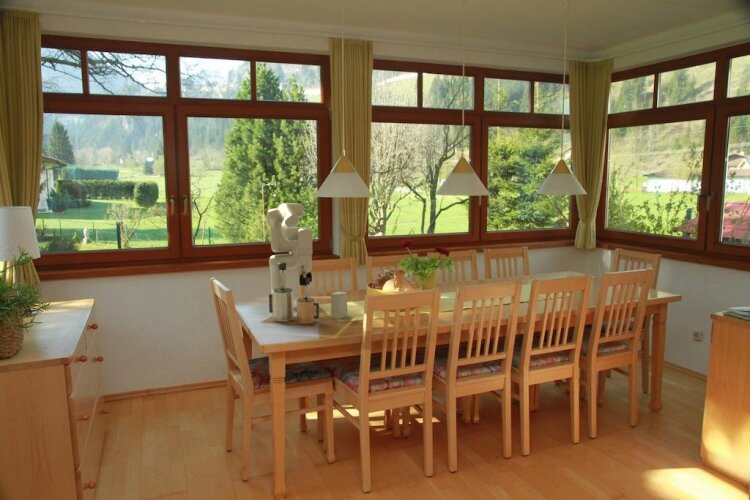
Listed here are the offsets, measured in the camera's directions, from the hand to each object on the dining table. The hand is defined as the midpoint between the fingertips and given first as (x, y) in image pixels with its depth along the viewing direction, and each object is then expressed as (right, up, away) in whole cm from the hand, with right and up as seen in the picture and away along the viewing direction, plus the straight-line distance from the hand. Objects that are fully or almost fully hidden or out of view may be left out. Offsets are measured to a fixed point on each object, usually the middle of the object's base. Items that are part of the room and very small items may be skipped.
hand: (305, 283), depth 304 cm
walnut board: (-8, -22, +6) cm, 24 cm away
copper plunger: (0, -12, +2) cm, 12 cm away
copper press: (+1, -21, +3) cm, 21 cm away
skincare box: (+17, -21, +15) cm, 31 cm away
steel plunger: (-13, -8, +6) cm, 17 cm away
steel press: (-14, -20, +8) cm, 26 cm away
